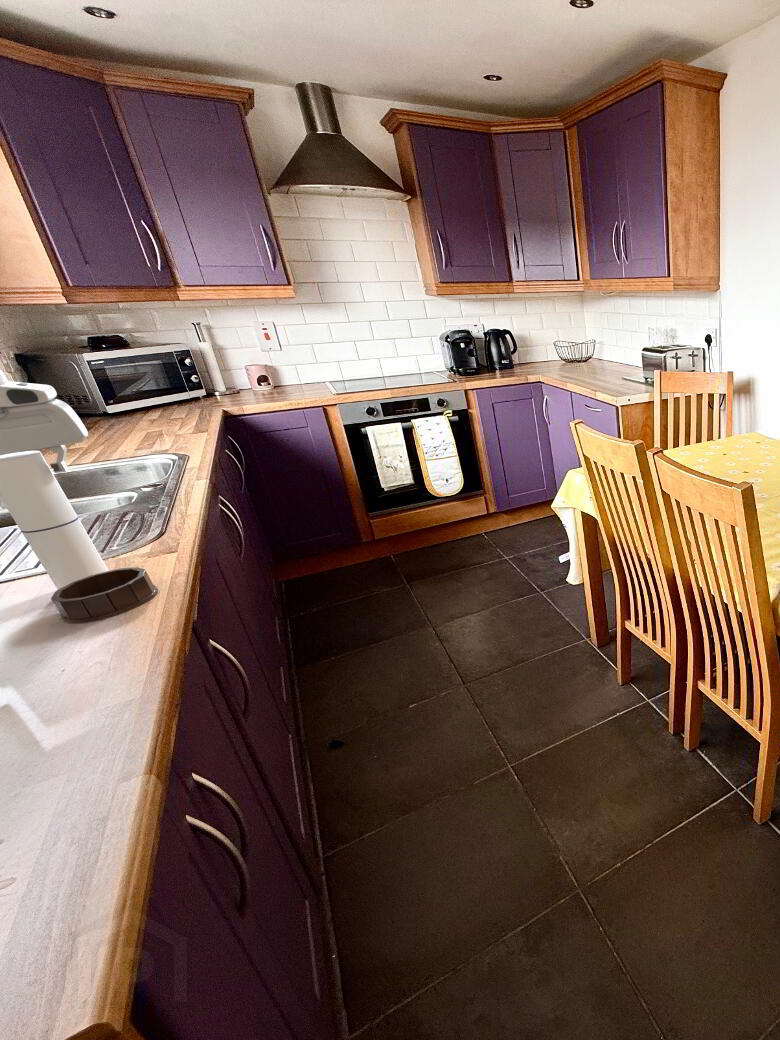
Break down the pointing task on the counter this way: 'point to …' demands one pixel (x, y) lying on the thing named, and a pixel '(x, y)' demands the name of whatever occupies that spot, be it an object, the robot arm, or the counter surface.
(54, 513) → the cylindrical container
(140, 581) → the ring
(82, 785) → the counter surface
